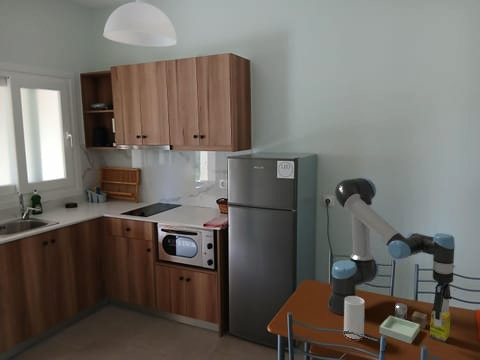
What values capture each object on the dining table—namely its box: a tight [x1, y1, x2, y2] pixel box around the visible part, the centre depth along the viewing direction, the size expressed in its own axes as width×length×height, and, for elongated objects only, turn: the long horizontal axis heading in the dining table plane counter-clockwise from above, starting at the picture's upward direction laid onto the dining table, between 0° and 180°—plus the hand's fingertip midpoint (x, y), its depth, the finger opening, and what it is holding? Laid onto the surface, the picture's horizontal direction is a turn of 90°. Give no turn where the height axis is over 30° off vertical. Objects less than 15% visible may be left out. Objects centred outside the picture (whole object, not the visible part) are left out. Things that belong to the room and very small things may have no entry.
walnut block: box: [411, 311, 428, 330], centre depth 162 cm, size 5×5×5 cm
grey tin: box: [394, 302, 408, 321], centre depth 168 cm, size 5×5×7 cm
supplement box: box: [429, 310, 451, 343], centre depth 152 cm, size 6×6×11 cm
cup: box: [343, 295, 365, 339], centre depth 155 cm, size 8×8×16 cm
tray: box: [379, 315, 421, 345], centre depth 157 cm, size 13×13×3 cm
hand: (441, 319), depth 151 cm, fingers open, 13 cm apart
